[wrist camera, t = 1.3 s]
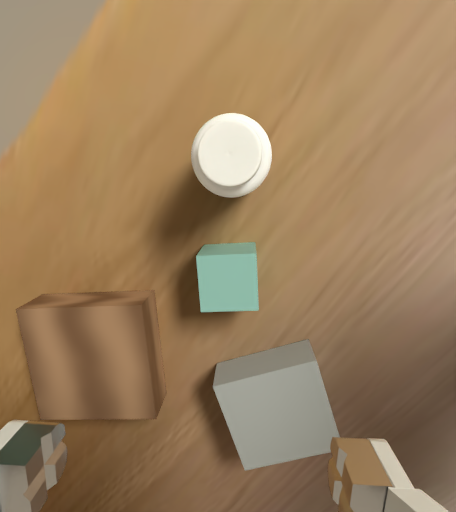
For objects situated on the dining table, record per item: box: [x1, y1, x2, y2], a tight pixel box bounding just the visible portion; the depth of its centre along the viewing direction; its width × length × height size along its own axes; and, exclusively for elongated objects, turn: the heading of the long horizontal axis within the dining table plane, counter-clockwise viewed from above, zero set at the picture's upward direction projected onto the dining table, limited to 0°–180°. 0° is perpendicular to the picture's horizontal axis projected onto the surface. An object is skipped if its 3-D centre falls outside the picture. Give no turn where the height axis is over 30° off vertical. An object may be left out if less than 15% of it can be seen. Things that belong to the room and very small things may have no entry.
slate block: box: [213, 339, 340, 471], centre depth 32 cm, size 10×10×4 cm
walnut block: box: [16, 290, 166, 420], centre depth 33 cm, size 12×12×4 cm
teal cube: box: [196, 242, 259, 312], centre depth 29 cm, size 5×5×5 cm
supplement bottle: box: [191, 113, 272, 198], centre depth 24 cm, size 6×6×10 cm
